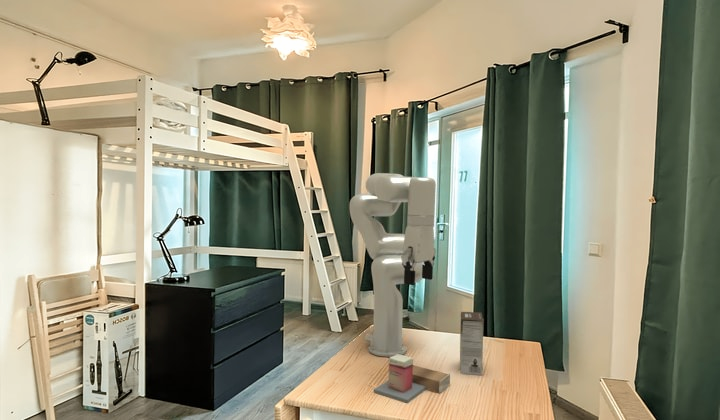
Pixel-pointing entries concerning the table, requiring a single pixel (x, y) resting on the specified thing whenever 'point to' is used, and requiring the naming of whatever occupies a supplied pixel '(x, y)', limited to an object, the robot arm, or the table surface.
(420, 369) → the bronze rectangular slab
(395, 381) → the small box
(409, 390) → the slate pad
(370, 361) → the table surface
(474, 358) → the coffee box
